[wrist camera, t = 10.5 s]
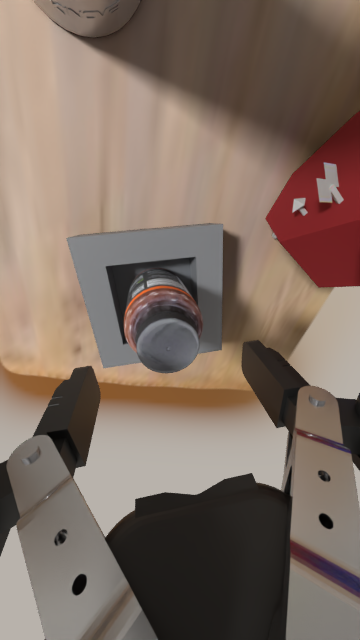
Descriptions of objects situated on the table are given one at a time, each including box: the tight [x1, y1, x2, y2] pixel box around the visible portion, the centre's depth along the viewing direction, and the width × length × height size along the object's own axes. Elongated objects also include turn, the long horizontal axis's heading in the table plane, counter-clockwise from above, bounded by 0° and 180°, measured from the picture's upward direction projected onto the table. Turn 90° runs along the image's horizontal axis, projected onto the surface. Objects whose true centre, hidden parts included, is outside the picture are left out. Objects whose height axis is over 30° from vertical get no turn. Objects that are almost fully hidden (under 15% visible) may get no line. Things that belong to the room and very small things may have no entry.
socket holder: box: [67, 223, 223, 368], centre depth 22 cm, size 13×13×4 cm
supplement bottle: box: [124, 268, 203, 373], centre depth 18 cm, size 6×6×11 cm
